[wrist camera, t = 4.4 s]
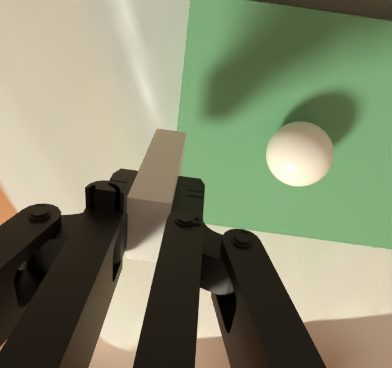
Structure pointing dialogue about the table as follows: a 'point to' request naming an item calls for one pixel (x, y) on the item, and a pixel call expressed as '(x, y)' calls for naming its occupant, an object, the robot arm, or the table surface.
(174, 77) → the table surface
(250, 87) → the green
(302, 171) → the ball
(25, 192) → the table surface
